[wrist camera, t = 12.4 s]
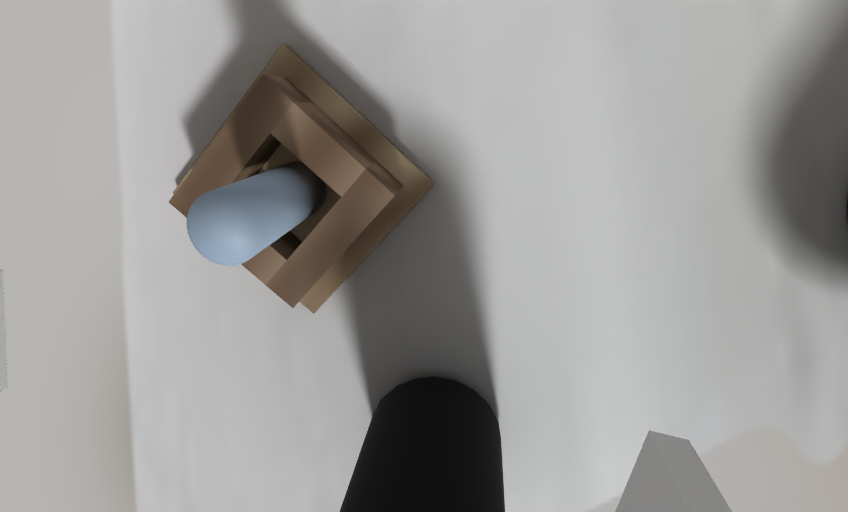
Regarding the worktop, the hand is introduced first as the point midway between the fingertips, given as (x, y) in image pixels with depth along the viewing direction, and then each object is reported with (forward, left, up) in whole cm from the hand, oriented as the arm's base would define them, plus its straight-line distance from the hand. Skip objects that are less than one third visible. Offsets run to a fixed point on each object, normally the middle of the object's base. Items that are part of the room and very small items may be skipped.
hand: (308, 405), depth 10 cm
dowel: (+7, +7, -28) cm, 29 cm away
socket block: (+7, +7, -29) cm, 30 cm away
